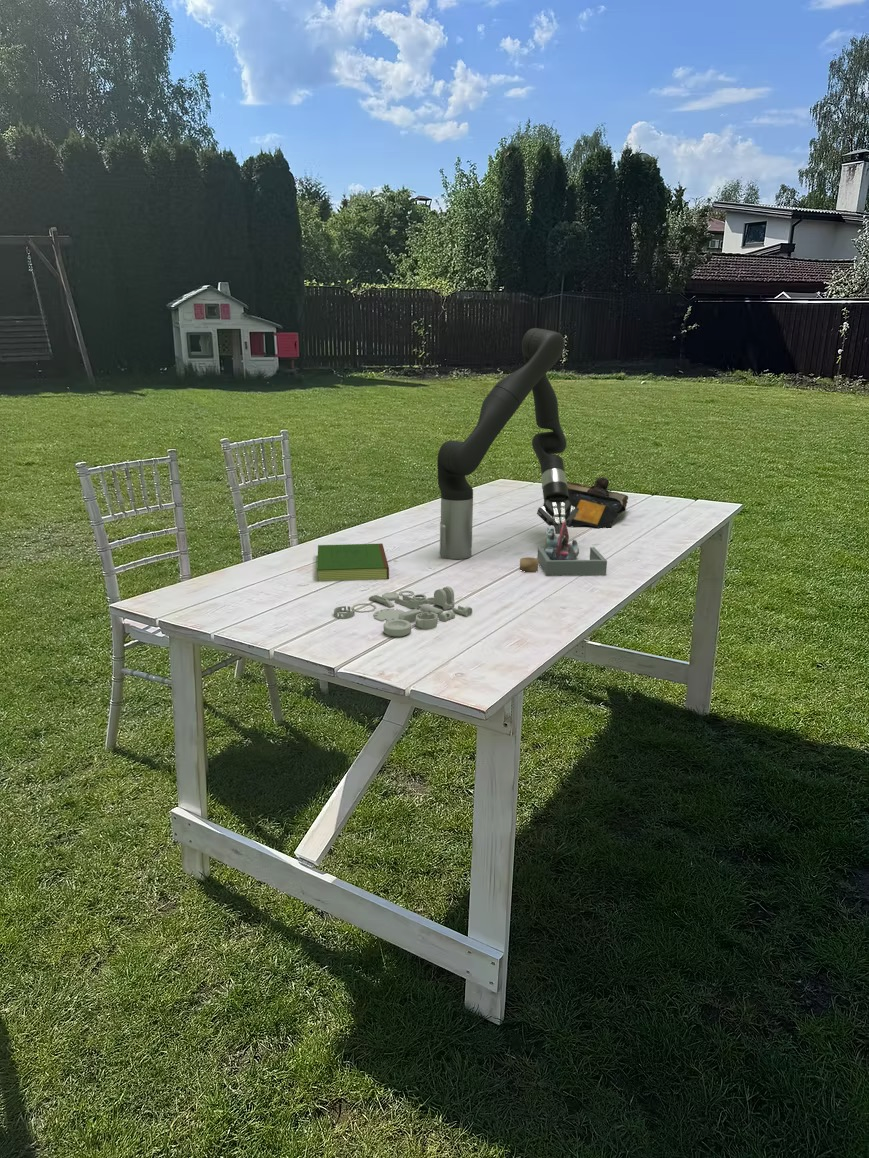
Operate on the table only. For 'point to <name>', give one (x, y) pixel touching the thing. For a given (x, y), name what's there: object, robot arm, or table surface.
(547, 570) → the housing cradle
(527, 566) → the tan rounded lump
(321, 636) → the table surface
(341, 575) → the hardcover book
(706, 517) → the table surface
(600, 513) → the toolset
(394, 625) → the robot parts
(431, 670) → the table surface
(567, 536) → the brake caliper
